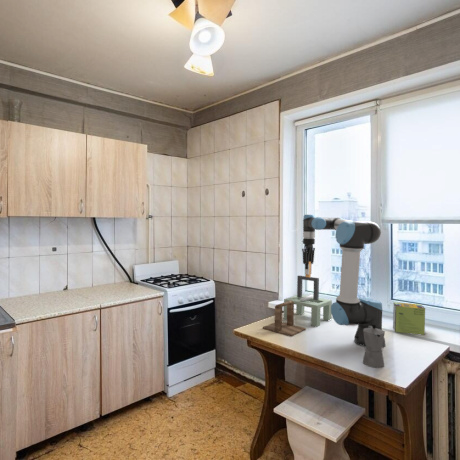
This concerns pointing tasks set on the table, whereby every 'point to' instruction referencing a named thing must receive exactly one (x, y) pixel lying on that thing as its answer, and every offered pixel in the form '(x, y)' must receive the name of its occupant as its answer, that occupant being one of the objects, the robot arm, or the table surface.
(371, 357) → the coffeepot
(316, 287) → the dark grey arch
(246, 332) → the table surface
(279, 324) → the walnut rack
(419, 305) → the protein box
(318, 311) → the pale green table
